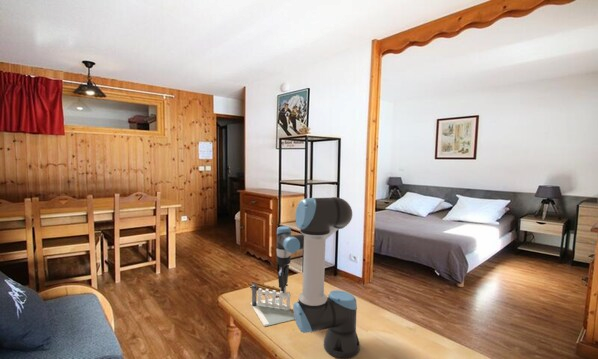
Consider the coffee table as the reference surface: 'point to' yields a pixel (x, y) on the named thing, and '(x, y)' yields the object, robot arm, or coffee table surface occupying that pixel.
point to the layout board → (272, 314)
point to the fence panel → (273, 298)
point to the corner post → (254, 294)
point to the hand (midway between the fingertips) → (283, 298)
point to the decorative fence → (265, 287)
